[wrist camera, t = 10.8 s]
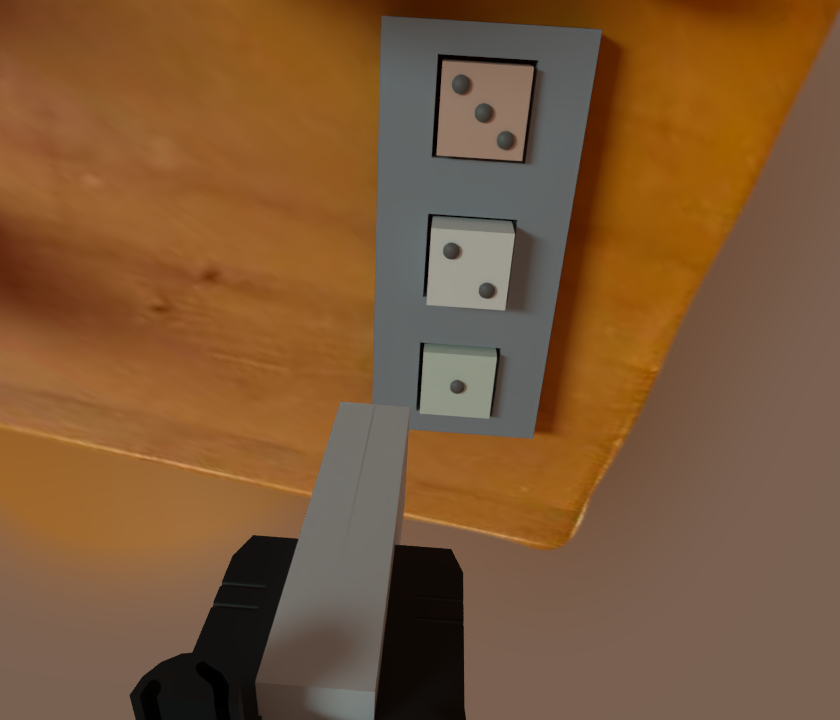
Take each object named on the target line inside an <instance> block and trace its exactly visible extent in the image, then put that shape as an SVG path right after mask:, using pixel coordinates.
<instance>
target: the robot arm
mask: <svg viewBox="0 0 840 720" xmlns="http://www.w3.org/2000/svg"><path fill="white" fill-rule="evenodd" d="M409 414H410V407H402V406H389V405H375V404H362V403H349V402H340V405H339V408H338V411H337V415H336V418H335V421H334V425H333V428H332V431H331V434H330V438H329V441H328V444H327V448H326V451H325V454H324V457H323V461H322V464H321V467H320V471H319V474H318V477H317V480H316V484H315V487H314V490H313V494H312V497H311V500H310V504H309V507H308V510H307V513H306V516H305V520H304V523H303V527H302V530H301V533H300V536H299V539H293V538H281V537H269V536H256V535H253V536H252V537H251V538H250V539H249V540H248V541H247V542H246V543H245V544H244V545H243V546H242V547H241V548H240V549H239V550H238V551H237V552H236V553H235V554H234V555H233V556H232V559H231V561H230V564H229V566H228V568H227V571H226V573H225V576H224V579H223V581H222V586H220V588H219V590H218V593H217V595H216V597H215V600H214V604H213V607H212V608H211V609H210V612H209V614H208V616H207V619H206V621H205V624H204V626H203V628H202V631H201V633H200V636H199V638H198V640H197V643H196V645H195V648H194V650H193V652H192V653H183V654H180V655H177V656H175V657H173V658H170V659H168V660H165V661H163V662H161V663H160V664H158V665H157V666H156V667H154V668H153V669H152V670H151V671H149V672H148V673H147V674H145V675H144V676H143V677H142V678H141V680H140V681H139V683H138V684H137V686H136V687H135V688H134V690H133V691H132V693H131V694H130V699H131V702H132V706H133V711H134V714H135V718H136V720H466V717H465V709H464V626H463V572H462V570H461V568H460V566H459V564H458V562H457V560H456V558H455V556H454V554H453V552H452V550H451V549H443V548H430V547H418V546H405V545H400V540H401V531H402V522H403V513H404V503H405V485H406V467H407V449H408V431H409Z"/></svg>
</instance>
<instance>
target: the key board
mask: <svg viewBox="0 0 840 720" xmlns="http://www.w3.org/2000/svg"><path fill="white" fill-rule="evenodd" d="M601 35H602V30H601V29H589V28H573V27H557V26H541V25H525V24H509V23H493V22H477V21H461V20H445V19H429V18H413V17H397V16H381V53H380V97H379V140H378V184H377V228H376V271H375V315H374V359H373V403H372V404H375V405H389V406H402V407H410V414H409V429H412V430H425V431H438V432H452V433H465V434H478V435H491V436H505V437H518V438H531V439H533V435H534V429H535V424H536V418H537V412H538V406H539V400H540V394H541V388H542V382H543V376H544V371H545V365H546V359H547V353H548V347H549V341H550V335H551V329H552V323H553V317H554V312H555V306H556V300H557V294H558V288H559V282H560V276H561V270H562V264H563V259H564V253H565V247H566V241H567V235H568V229H569V223H570V217H571V211H572V205H573V200H574V194H575V188H576V182H577V176H578V170H579V164H580V158H581V152H582V147H583V141H584V135H585V129H586V123H587V117H588V111H589V105H590V99H591V93H592V88H593V82H594V76H595V70H596V64H597V58H598V52H599V46H600V40H601ZM439 54H445V55H461V56H477V57H493V58H508V59H524V60H534V61H533V67H534V71H533V79H532V86H531V94H530V102H529V110H528V118H527V126H526V134H525V141H524V149H523V157H522V161H514V160H499V159H484V158H469V157H454V156H439V155H436V154H437V150H433V140H434V124H435V108H436V92H437V76H438V60H439ZM429 214H439V215H454V216H468V217H483V218H498V219H512V220H513V228H514V232H515V238H514V245H513V253H512V261H511V269H510V276H509V284H508V292H507V300H506V307H505V311H504V310H490V309H476V308H462V307H448V306H434V305H426V303H427V288H428V283H425V269H426V253H427V237H428V221H429ZM421 342H422V343H435V344H449V345H463V346H477V347H491V348H497V361H496V369H495V377H494V385H493V393H492V400H491V408H490V416H489V419H486V418H472V417H459V416H446V415H432V414H420V400H421V393H418V381H419V365H420V349H421Z"/></svg>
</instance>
